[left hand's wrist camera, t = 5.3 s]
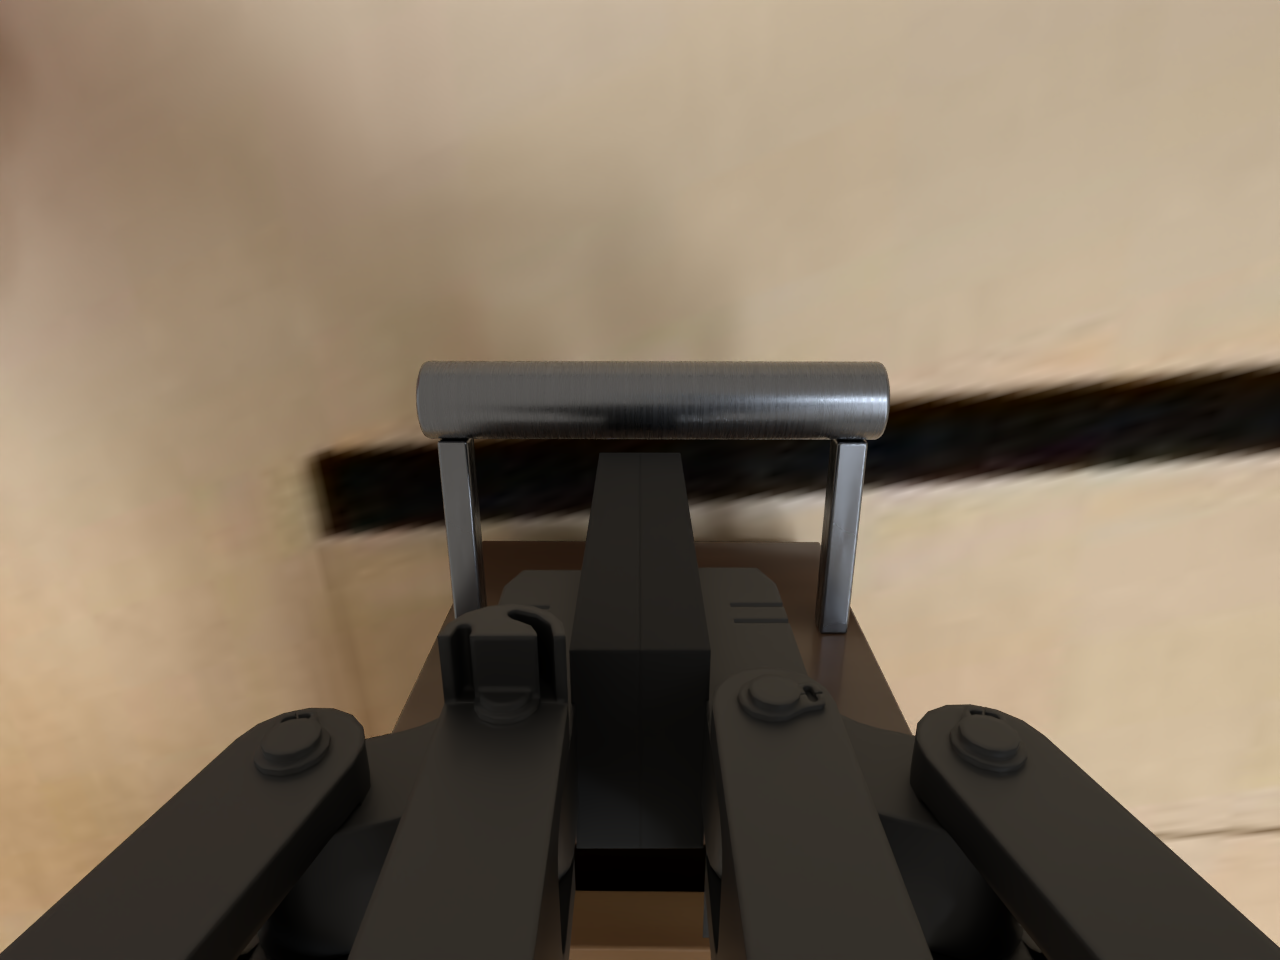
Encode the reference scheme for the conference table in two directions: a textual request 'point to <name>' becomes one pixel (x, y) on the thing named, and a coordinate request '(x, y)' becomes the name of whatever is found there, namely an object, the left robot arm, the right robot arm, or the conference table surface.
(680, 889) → the drawer
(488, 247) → the conference table surface
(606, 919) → the cabinet
